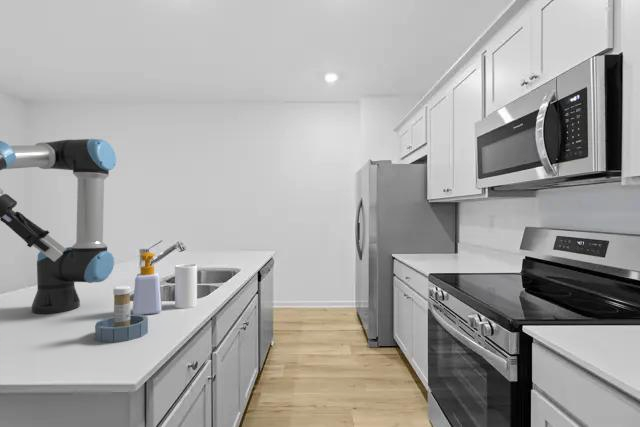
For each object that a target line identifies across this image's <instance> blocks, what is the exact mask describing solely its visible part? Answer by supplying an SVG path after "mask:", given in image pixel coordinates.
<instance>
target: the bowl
mask: <svg viewBox="0 0 640 427" xmlns="http://www.w3.org/2000/svg"><path fill="white" fill-rule="evenodd" d="M148 318H149V317H148V316H146V315H134V314H130V325H129V326H122V327H114V316H110V317H106V318H104V319H101V320H99V321H97V322H96V323H95V326H94V327H95V328H94V336H95V338H94V339H95V341H98V342H101V343H121V342H128V341H132V340H135V339H138V338H142V337H144V336H145V335H147V334H148V331H149V330H148V326H149V325H148V324H149V323H148V321H149V319H148Z"/></svg>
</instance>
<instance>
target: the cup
mask: <svg viewBox="0 0 640 427" xmlns="http://www.w3.org/2000/svg"><path fill="white" fill-rule="evenodd" d="M197 306H198V265H197V264H196V263H195V264H194V263H185V264H177V265H175V266H174V307H175V308H176V309H190V308H194V307H197Z"/></svg>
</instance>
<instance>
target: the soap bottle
mask: <svg viewBox="0 0 640 427" xmlns="http://www.w3.org/2000/svg"><path fill="white" fill-rule="evenodd" d="M140 257H141V261H144V265H143V266H140V273H138V274H137V275H136V276H135V279H134V288H133V290H134V291H133V300H132V315H143V316H145V315H152V314H153V315H154V314H159V313H161V311H162V296H161V294H162V293H161V284H160V275H159V273H158V272H155V266H154V265H150V264H151V263H150V262H151V261H153V260H154V257H156V254H154V253H152V252H150V251H148V252H147V251H146V252H143V253H142V254H140V255H139V258H140Z"/></svg>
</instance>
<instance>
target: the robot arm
mask: <svg viewBox="0 0 640 427" xmlns="http://www.w3.org/2000/svg"><path fill="white" fill-rule="evenodd" d="M116 164H117V156H116V153H115V150H114V148H113V147H112V145H111V144H110V143H109V142H108V141H106V140H104V139H99V138H98V139H97V138H87V139H86V138H83V139H82V138H79V139H63V140H62V139H61V140H57V141H56V140H55V141H49V142H48V141H47V142H38V143H35V144H34V145H9V144H8V143H7V142H5V141H2V140H0V171H2V170H9V169H11V170H12V169H26V168H28V169H29V168H39V169H41V170H50V169H51V170H52V169H53V170H64V171H72V175H73V176H74V177H76V178H77V192H76V193H77V197H76V201H77V202H76V237H75V238H76V241H75V243H74V244H73V245H72V246H69V247H65V246H64V245H62V244H61V243H60V242H59V241H58V240H56V239H55V238H53V237H52V236H51V235H50V231H49V230H44V229H42V228H41V227H40V226H38V224H35V223H34V222H33V221H32V220H30V219H29V218H27V217H26V216H25V215H24V214H23V213H21V212H20V211H15V210H13V209H14V208H15V207H16V206H17V205H18V202H17V200H16V199H14V198H13V197H11V196H10V195H9V194H7V193H4V190H3V189H1V188H0V222H2V223H4V224H5V225H6V226H7V227H8V228H10V229H11V230H12V231H13V232H14V233H15V234H16V235H18V237H20V238H21V239H22V240H23V241H24V242H25V243H26V246H27V247H29V248H32V247H34V248H35V249H36V250H37V251H39V252H38V254H37V261H36V276H37V279H36V280H37V290H36V293H35V297H34V299H33V301H32V304H31V313H33V314H44V315H45V314H55V313H56V314H57V313H62V312H63V313H64V312H68V311H72V310H75V309H78V308H79V307H80V306H81V301H80V298H79V295H78V293H77V290H76V287H75V283H88V284H93V283H101V282H104V281H105V280H106V279H108V278H109V276H110V275H111V274H112V272H113V270H114V266H115V257H114V256H113V254H112V252H109V251H108V245H107V244H106V243H105V242H104V204H105V203H104V201H105V200H104V198H105V197H104V196H105V192H104V191H105V179H107V178H108V177H109V176H110V175H109V174H110V173H109V172H110V171H111V170H113V169H114V168H115V166H116Z"/></svg>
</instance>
